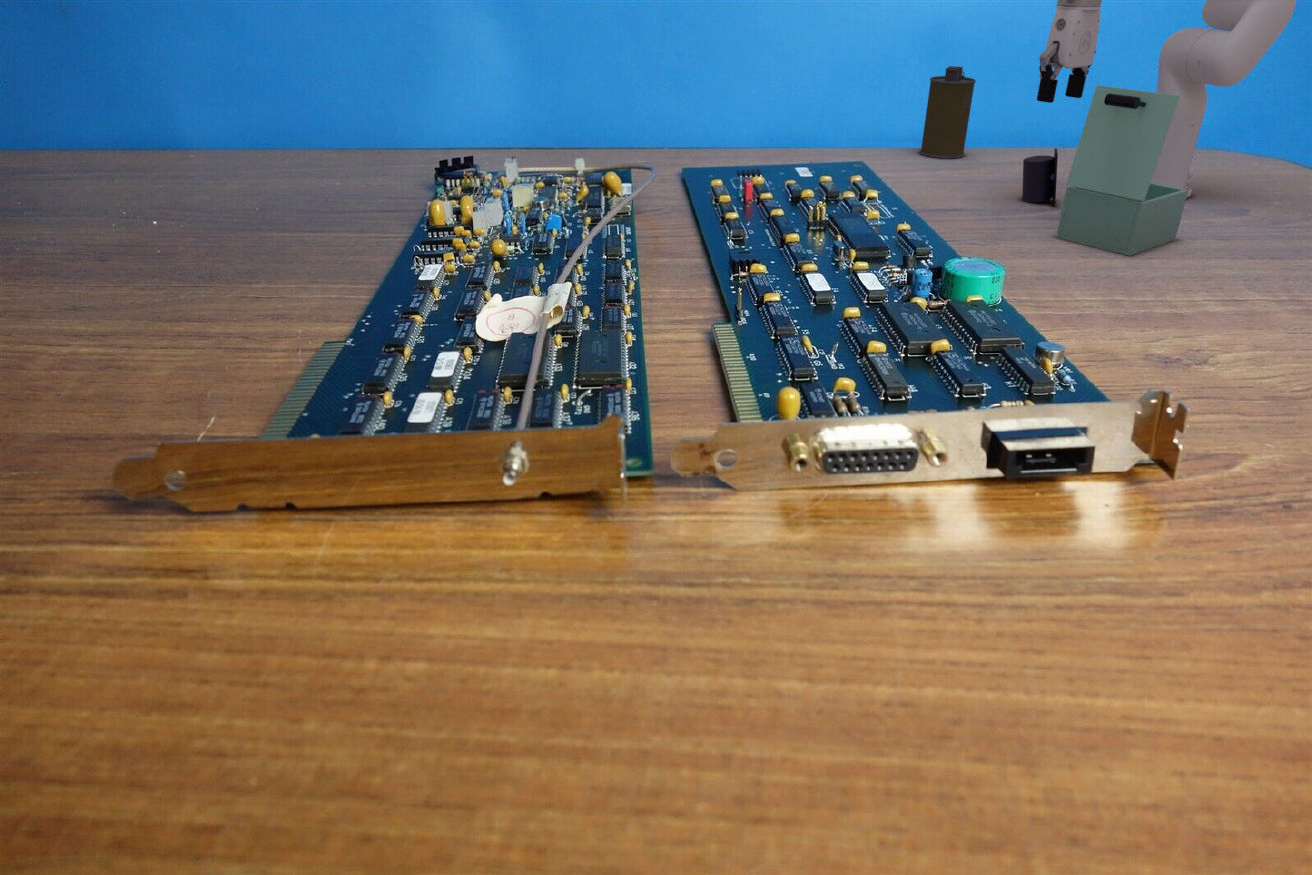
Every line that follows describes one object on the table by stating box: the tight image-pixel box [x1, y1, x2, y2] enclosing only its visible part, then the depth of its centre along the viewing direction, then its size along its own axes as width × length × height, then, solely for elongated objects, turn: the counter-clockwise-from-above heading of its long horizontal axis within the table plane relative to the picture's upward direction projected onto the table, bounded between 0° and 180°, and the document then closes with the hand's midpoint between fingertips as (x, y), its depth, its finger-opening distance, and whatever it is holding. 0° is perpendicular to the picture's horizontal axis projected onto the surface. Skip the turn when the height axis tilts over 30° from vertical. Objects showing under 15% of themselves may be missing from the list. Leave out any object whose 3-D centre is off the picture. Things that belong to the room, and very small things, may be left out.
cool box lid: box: [1066, 84, 1180, 201], centre depth 153 cm, size 16×14×5 cm
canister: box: [919, 65, 976, 160], centre depth 224 cm, size 11×10×20 cm
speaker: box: [1021, 147, 1059, 208], centre depth 187 cm, size 8×6×10 cm
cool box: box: [1056, 183, 1189, 257], centre depth 164 cm, size 16×14×9 cm
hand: (1059, 99), depth 177 cm, fingers open, 9 cm apart
